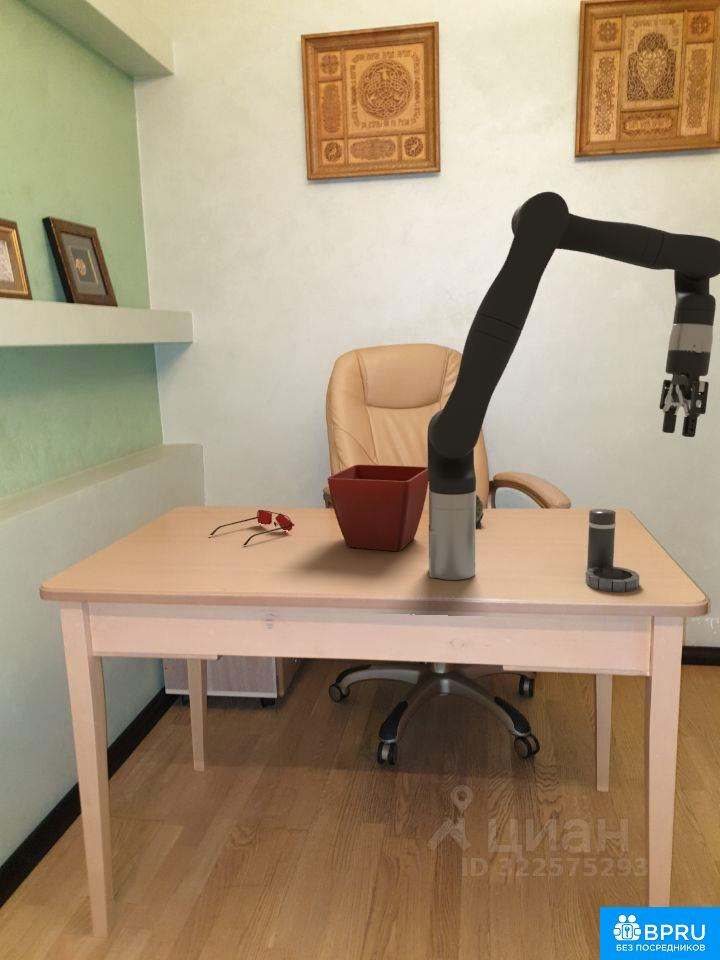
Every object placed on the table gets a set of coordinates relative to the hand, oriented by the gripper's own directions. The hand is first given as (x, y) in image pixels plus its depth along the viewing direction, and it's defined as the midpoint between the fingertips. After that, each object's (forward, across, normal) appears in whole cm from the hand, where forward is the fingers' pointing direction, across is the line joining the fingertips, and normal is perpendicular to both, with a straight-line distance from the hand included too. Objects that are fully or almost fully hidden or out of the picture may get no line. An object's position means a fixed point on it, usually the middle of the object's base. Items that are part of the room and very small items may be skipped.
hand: (677, 434), depth 145 cm
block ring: (+29, +5, -11) cm, 31 cm away
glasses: (+35, -39, -84) cm, 99 cm away
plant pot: (+32, -29, -53) cm, 68 cm away
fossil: (+29, -44, -32) cm, 61 cm away
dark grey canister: (+28, -4, -10) cm, 31 cm away
